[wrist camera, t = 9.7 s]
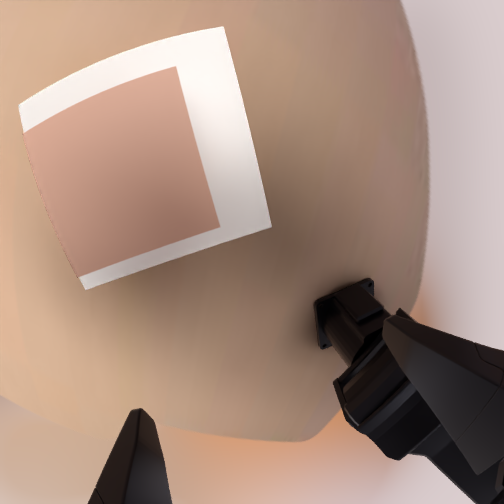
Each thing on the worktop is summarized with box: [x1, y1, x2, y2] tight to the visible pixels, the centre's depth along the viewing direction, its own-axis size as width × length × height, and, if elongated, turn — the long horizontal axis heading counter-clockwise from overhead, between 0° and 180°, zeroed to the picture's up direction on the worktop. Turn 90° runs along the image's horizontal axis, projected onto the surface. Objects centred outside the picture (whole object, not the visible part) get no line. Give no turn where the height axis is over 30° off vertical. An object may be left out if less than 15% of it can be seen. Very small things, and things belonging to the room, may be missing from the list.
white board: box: [18, 27, 272, 290], centre depth 16 cm, size 14×14×2 cm
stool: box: [22, 66, 220, 278], centre depth 12 cm, size 6×6×7 cm
